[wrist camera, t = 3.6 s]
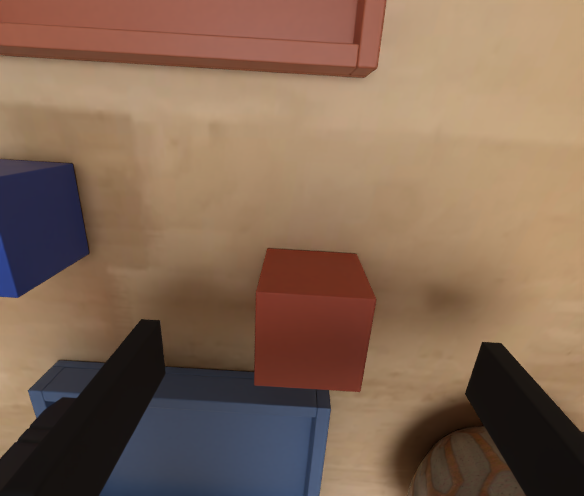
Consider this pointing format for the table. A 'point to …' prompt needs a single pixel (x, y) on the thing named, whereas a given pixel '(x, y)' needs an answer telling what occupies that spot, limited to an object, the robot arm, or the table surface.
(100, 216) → the table surface
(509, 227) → the table surface
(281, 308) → the rust block
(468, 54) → the table surface
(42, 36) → the terracotta tray
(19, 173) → the blue block
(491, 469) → the vase
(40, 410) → the blue tray
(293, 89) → the table surface
